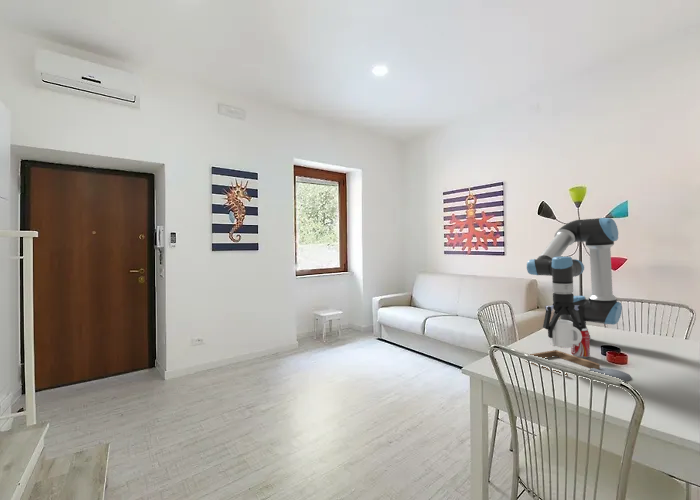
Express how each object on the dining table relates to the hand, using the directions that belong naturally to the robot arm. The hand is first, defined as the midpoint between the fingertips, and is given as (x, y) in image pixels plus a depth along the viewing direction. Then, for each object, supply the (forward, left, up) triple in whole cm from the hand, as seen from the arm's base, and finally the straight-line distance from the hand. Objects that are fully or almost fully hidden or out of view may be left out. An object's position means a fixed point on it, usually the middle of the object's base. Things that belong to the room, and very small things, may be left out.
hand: (564, 345), depth 145 cm
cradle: (-2, 0, -9) cm, 10 cm away
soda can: (-7, +18, -10) cm, 21 cm away
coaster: (+13, +8, -9) cm, 18 cm away
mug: (0, +1, -1) cm, 1 cm away
